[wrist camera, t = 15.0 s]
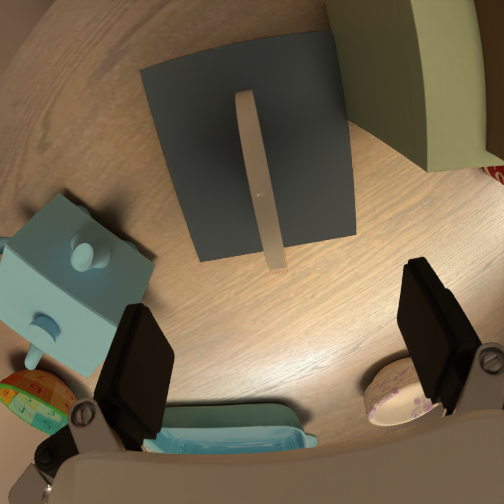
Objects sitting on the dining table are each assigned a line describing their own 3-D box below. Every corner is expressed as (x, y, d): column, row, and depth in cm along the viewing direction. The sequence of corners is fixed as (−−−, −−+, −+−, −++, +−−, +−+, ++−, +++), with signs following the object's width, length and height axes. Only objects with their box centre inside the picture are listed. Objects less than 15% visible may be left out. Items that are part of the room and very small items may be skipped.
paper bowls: (364, 356, 47) (375, 396, 41) (442, 338, 46) (459, 372, 39) (355, 400, 56) (362, 433, 49) (422, 384, 54) (434, 414, 48)
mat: (141, 70, 25) (139, 70, 24) (330, 30, 23) (332, 29, 22) (200, 259, 37) (200, 262, 36) (355, 232, 35) (356, 234, 34)
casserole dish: (167, 440, 67) (164, 464, 61) (125, 397, 55) (118, 427, 49) (315, 432, 64) (318, 458, 58) (311, 386, 52) (316, 420, 46)
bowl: (31, 392, 59) (19, 422, 51) (-2, 336, 47) (-23, 371, 39) (106, 416, 61) (97, 451, 53) (83, 363, 49) (67, 407, 41)
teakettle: (18, 195, 31) (-54, 261, 19) (147, 174, 31) (85, 254, 18) (64, 308, 42) (26, 383, 29) (177, 310, 41) (156, 405, 29)
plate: (237, 83, 25) (229, 111, 14) (251, 80, 25) (255, 105, 14) (267, 214, 33) (277, 315, 22) (278, 212, 33) (294, 312, 22)
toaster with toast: (324, 2, 21) (437, -73, 4) (433, 7, 20) (587, 1, 3) (345, 118, 28) (468, 207, 11) (446, 112, 26) (591, 187, 10)
